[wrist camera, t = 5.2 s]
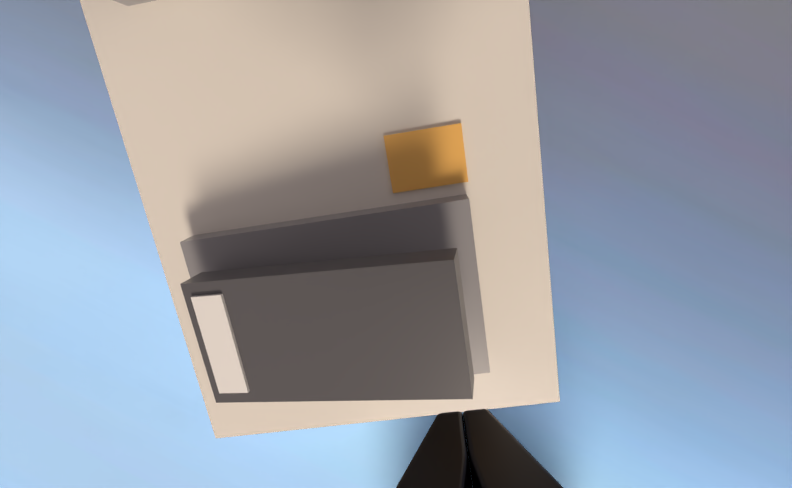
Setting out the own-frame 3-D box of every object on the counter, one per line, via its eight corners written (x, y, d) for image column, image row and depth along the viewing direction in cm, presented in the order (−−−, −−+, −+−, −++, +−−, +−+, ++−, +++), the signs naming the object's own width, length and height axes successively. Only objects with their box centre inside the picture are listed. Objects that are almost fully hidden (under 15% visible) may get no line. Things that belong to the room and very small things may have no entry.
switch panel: (472, -477, 12) (488, -663, 9) (544, 371, 18) (567, 417, 15) (17, -346, 13) (-93, -474, 10) (236, 406, 19) (204, 454, 16)
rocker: (457, 247, 12) (453, 261, 11) (474, 378, 13) (472, 401, 12) (201, 272, 14) (178, 285, 13) (233, 384, 15) (214, 404, 14)
